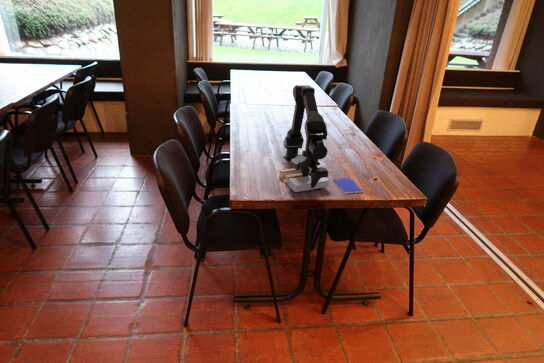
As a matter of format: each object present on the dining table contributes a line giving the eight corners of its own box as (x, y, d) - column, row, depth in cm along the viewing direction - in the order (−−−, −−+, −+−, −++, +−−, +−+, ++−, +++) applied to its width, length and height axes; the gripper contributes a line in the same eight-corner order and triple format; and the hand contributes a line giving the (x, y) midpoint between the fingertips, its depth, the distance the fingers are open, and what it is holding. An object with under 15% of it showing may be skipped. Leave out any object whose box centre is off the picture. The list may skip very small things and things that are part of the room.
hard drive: (333, 178, 163) (345, 191, 152) (350, 177, 165) (362, 190, 154) (332, 181, 164) (344, 194, 153) (349, 180, 166) (362, 193, 155)
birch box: (278, 176, 164) (279, 164, 161) (315, 171, 171) (316, 160, 169) (287, 185, 157) (288, 172, 154) (325, 179, 164) (327, 167, 162)
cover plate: (288, 185, 153) (288, 178, 152) (320, 180, 160) (321, 174, 158) (295, 192, 148) (296, 185, 147) (328, 186, 154) (329, 180, 153)
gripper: (284, 143, 151) (281, 177, 158) (306, 160, 136) (302, 197, 143) (307, 141, 155) (303, 174, 162) (331, 157, 140) (326, 193, 147)
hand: (308, 184), depth 153 cm, fingers closed on cover plate, 6 cm apart
